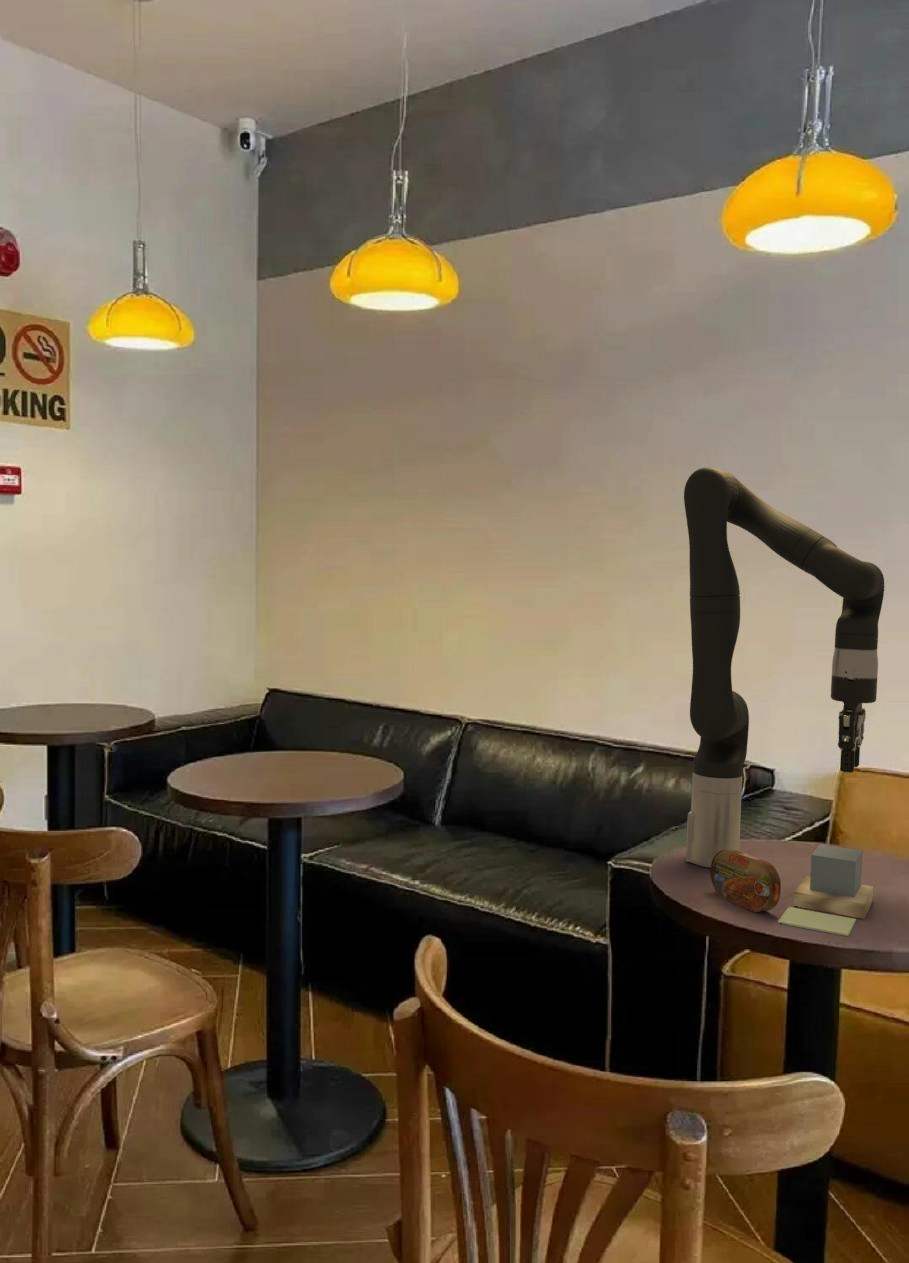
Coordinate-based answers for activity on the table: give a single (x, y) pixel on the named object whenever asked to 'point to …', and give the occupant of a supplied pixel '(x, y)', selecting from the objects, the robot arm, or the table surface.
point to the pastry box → (836, 870)
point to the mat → (817, 921)
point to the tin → (745, 880)
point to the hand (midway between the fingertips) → (849, 768)
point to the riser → (834, 900)
